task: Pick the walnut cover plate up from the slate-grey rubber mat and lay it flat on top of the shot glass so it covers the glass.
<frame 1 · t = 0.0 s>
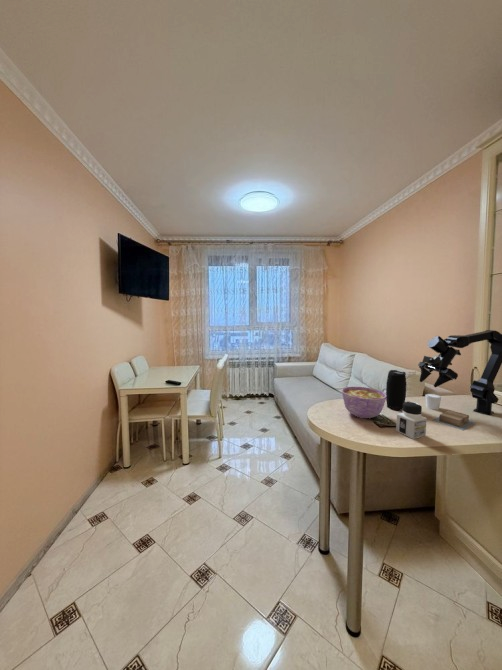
hand: (427, 384, 125), 15 cm above the breakfast bar, tool tilted 35°, fingers open, 9 cm apart
container: (410, 434, 105), on the breakfast bar
portable speaker: (395, 408, 134), on the breakfast bar
shot glass: (432, 408, 133), on the breakfast bar
cover plate: (453, 421, 116), resting on rubber mat
bowl of food: (362, 415, 123), on the breakfast bar
rubber mat: (453, 422, 116), on the breakfast bar
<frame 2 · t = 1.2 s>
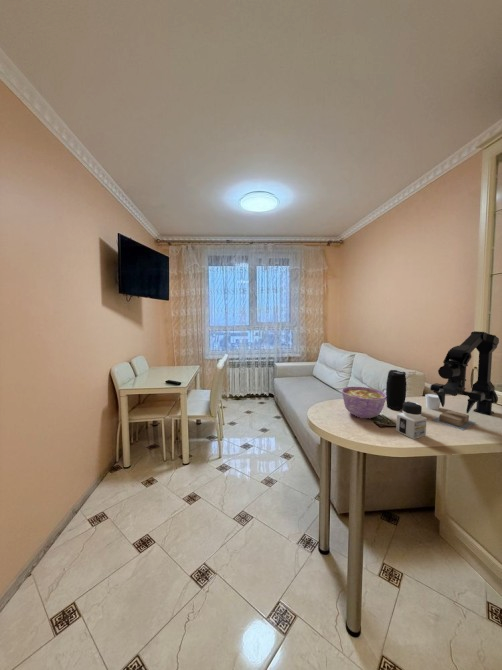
hand: (454, 409, 116), 6 cm above the breakfast bar, tool pointing down, fingers open, 9 cm apart
nothing on the breakfast bar moved.
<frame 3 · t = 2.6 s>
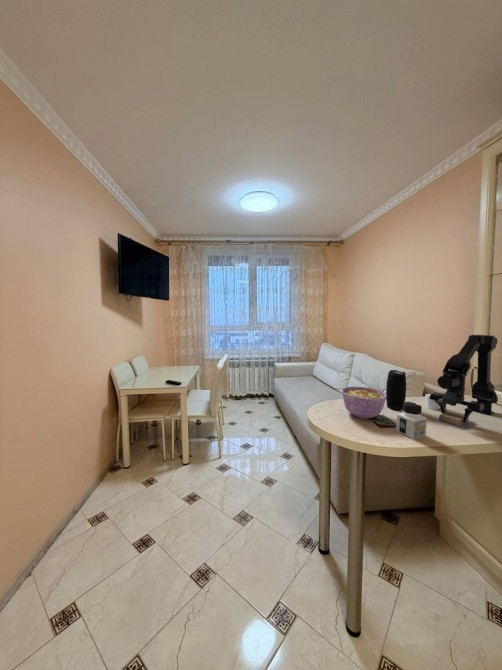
hand: (453, 419, 116), 1 cm above the breakfast bar, tool pointing down, fingers closed on cover plate, 7 cm apart
cover plate: (453, 421, 116), resting on rubber mat, touching gripper
everything else where it was.
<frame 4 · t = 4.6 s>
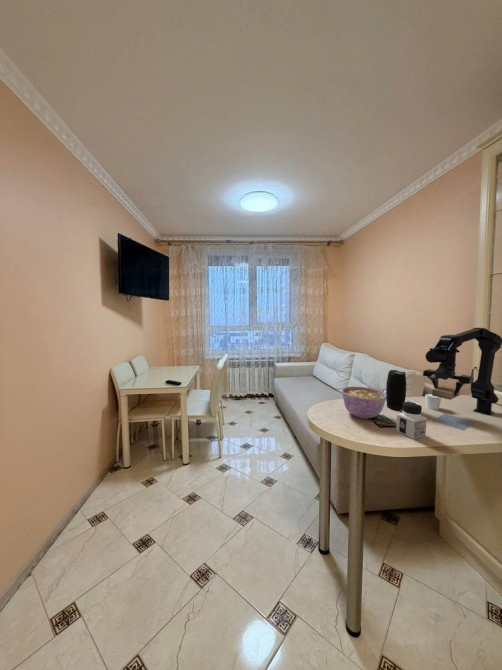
hand: (445, 393, 122), 11 cm above the breakfast bar, tool pointing down, fingers closed on cover plate, 7 cm apart
cover plate: (445, 395, 122), point 10 cm above the breakfast bar, touching gripper
everything else where it was.
when the fingers open (9 cm above the breakfast bar, at t = 6.6 s): cover plate drops 1 cm, resting on shot glass.
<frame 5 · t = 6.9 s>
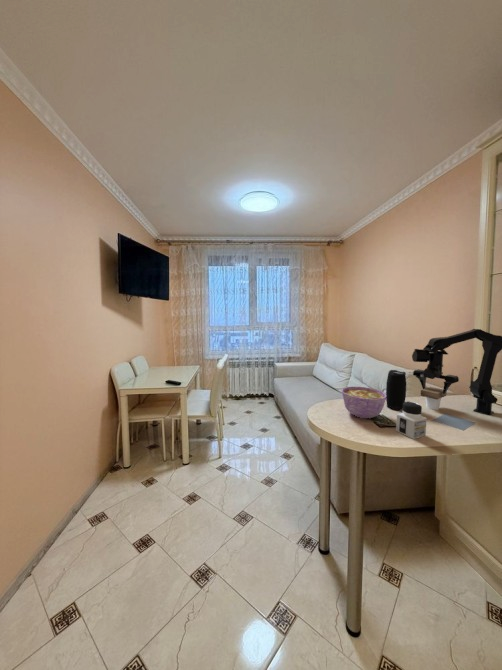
hand: (433, 391, 132), 9 cm above the breakfast bar, tool pointing down, fingers open, 9 cm apart
shot glass: (432, 408, 133), on the breakfast bar, touching cover plate
cover plate: (433, 395, 132), point 7 cm above the breakfast bar, touching shot glass
everything else where it was.
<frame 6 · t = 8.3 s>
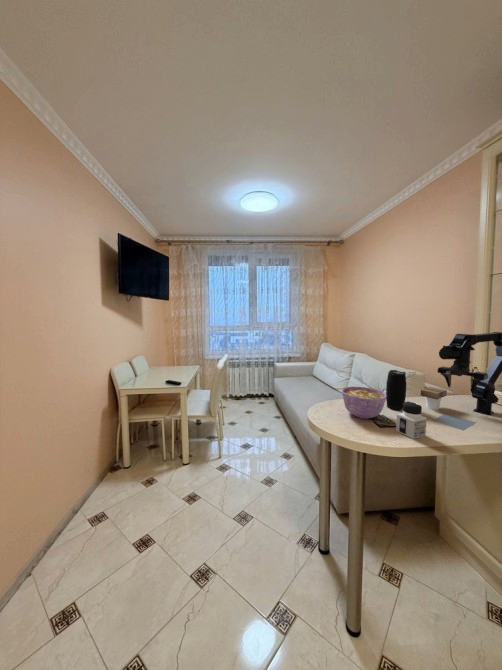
hand: (460, 389, 126), 12 cm above the breakfast bar, tool pointing down, fingers open, 9 cm apart
nothing on the breakfast bar moved.
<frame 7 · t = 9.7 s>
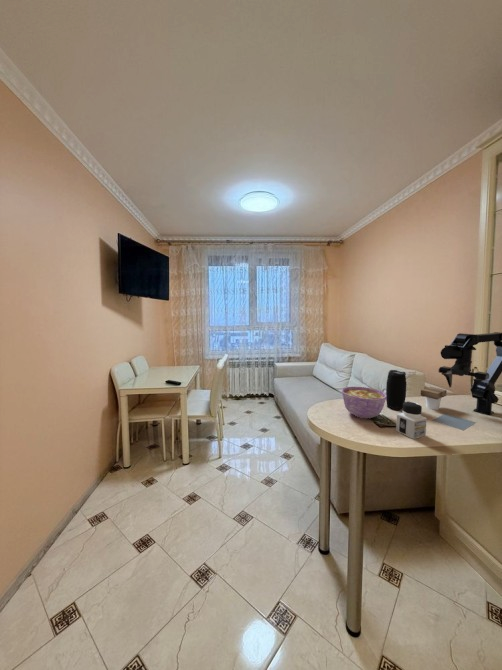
hand: (461, 389, 126), 12 cm above the breakfast bar, tool pointing down, fingers open, 9 cm apart
nothing on the breakfast bar moved.
at the end: cover plate 0.1 cm off-centre on the shot glass, point 7.2 cm above the shot glass's base; cover plate touching shot glass; shot glass tilted 0° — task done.
